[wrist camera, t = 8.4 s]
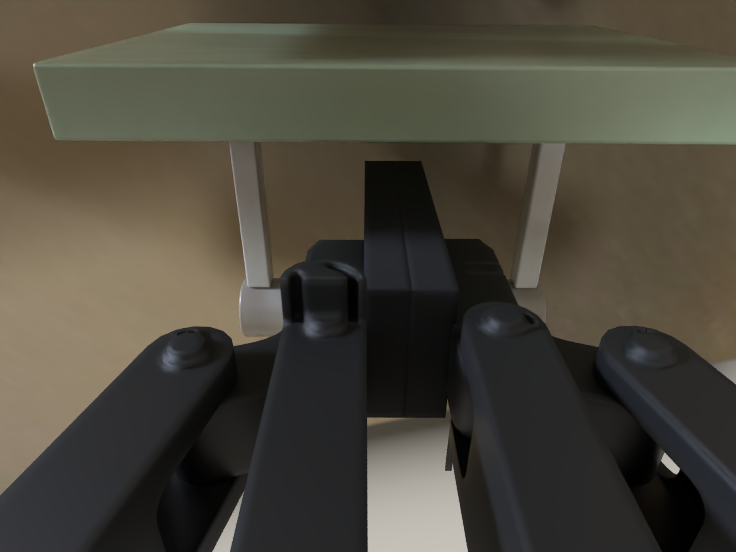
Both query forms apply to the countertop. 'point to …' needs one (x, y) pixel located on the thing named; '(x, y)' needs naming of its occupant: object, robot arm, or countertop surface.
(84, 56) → the drawer
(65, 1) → the countertop surface
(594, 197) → the countertop surface
